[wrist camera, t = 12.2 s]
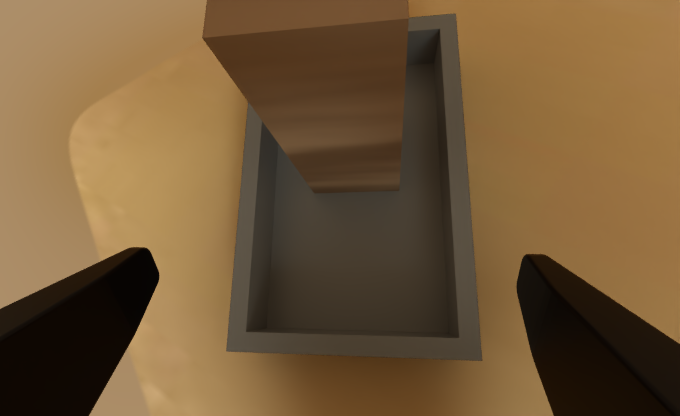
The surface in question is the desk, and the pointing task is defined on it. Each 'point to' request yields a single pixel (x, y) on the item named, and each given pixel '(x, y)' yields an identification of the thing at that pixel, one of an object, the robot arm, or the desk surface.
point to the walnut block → (321, 82)
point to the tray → (365, 236)
